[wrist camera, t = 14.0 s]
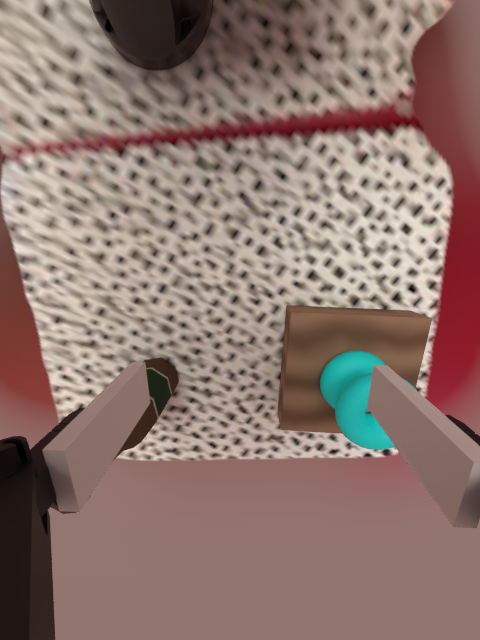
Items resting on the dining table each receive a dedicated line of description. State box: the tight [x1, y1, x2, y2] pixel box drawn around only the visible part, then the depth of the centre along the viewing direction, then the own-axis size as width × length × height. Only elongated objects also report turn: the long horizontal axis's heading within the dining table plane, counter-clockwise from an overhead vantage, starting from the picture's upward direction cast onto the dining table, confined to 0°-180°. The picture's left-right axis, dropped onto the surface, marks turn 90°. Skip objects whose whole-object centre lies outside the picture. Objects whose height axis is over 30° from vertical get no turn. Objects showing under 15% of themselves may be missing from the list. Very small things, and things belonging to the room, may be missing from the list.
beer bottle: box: [50, 358, 178, 514], centre depth 34 cm, size 8×8×24 cm
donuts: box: [320, 351, 417, 450], centre depth 34 cm, size 10×10×10 cm
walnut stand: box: [278, 305, 432, 433], centre depth 41 cm, size 20×20×5 cm
